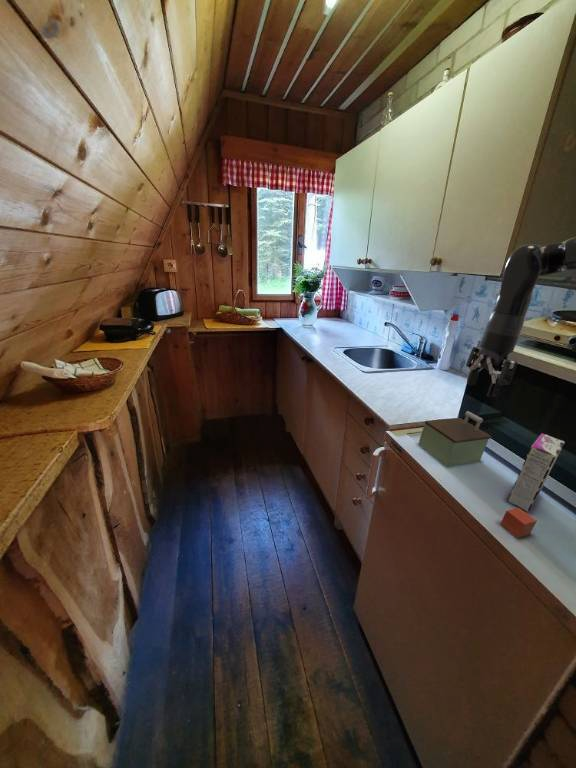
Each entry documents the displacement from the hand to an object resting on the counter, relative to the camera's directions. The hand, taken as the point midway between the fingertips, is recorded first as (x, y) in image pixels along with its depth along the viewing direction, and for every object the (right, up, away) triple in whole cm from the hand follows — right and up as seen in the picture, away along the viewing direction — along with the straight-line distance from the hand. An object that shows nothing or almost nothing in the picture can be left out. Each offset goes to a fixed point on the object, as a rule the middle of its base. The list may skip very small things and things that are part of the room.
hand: (480, 390), depth 83 cm
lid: (-1, -12, +10) cm, 16 cm away
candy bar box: (+8, -28, -4) cm, 29 cm away
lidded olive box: (-2, -20, +12) cm, 23 cm away
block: (-2, -31, -15) cm, 34 cm away
